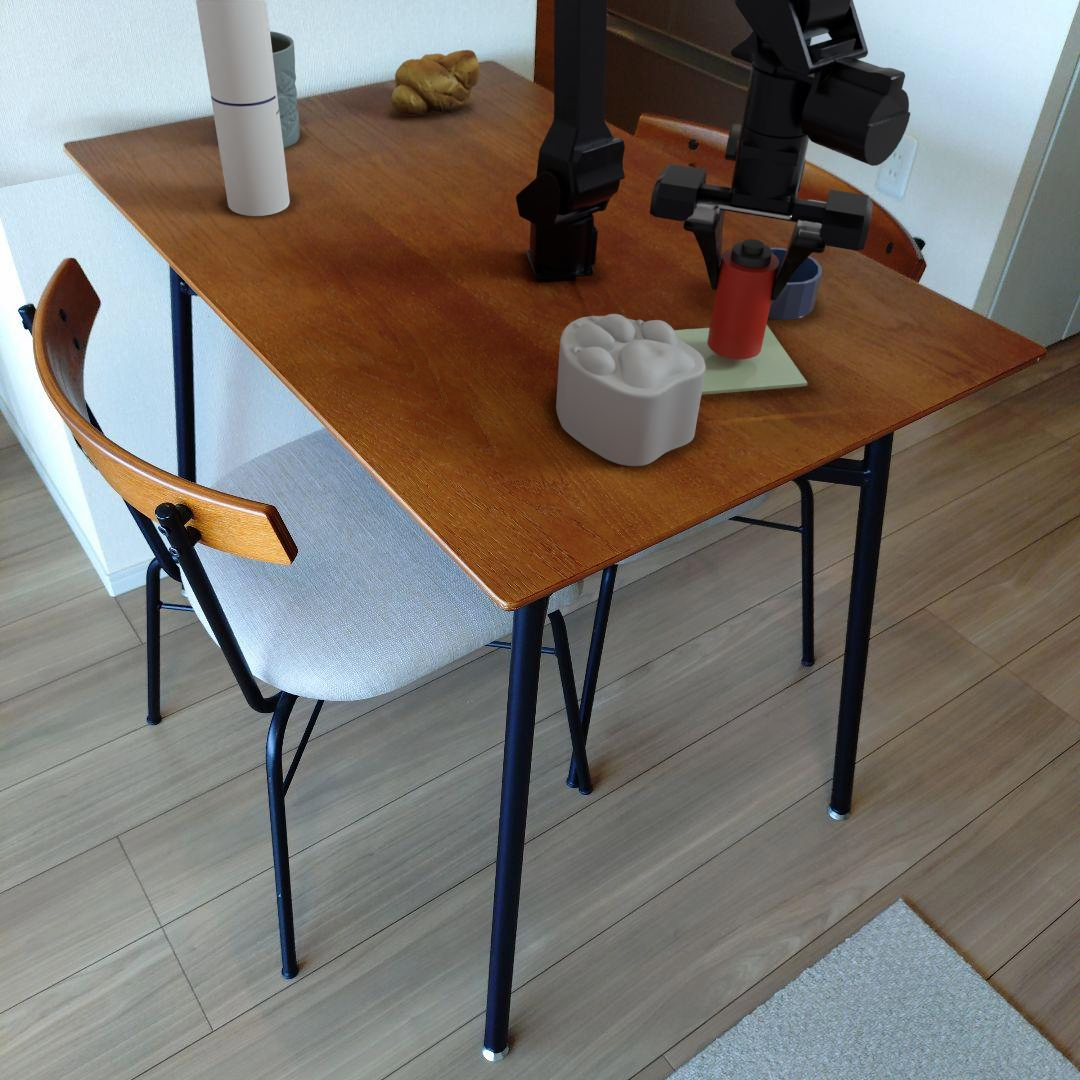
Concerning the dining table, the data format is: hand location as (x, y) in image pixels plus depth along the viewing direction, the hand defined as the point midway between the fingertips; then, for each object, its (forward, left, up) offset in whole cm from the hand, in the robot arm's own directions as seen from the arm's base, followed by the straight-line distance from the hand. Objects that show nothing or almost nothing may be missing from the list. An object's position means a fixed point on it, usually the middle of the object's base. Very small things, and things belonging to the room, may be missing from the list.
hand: (744, 293), depth 100 cm
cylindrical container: (-44, +41, -8) cm, 61 cm away
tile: (0, 0, -8) cm, 8 cm away
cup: (+9, +10, -8) cm, 15 cm away
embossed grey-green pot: (-43, +61, -8) cm, 76 cm away
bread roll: (-20, +70, -8) cm, 74 cm away
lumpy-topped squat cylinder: (-13, -8, -8) cm, 17 cm away
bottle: (0, 0, -6) cm, 6 cm away
